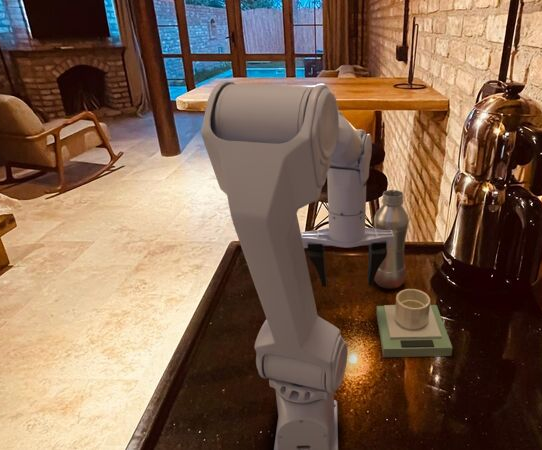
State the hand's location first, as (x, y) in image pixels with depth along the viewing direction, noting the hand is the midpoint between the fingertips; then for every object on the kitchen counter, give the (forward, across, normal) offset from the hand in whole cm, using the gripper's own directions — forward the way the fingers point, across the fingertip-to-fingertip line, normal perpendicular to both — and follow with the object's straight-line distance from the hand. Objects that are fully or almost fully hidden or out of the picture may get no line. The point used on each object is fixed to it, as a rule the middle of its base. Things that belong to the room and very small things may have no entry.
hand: (347, 282), depth 68 cm
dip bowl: (+7, -11, +1) cm, 13 cm away
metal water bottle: (+10, -9, -13) cm, 18 cm away
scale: (+9, -11, +2) cm, 15 cm away
